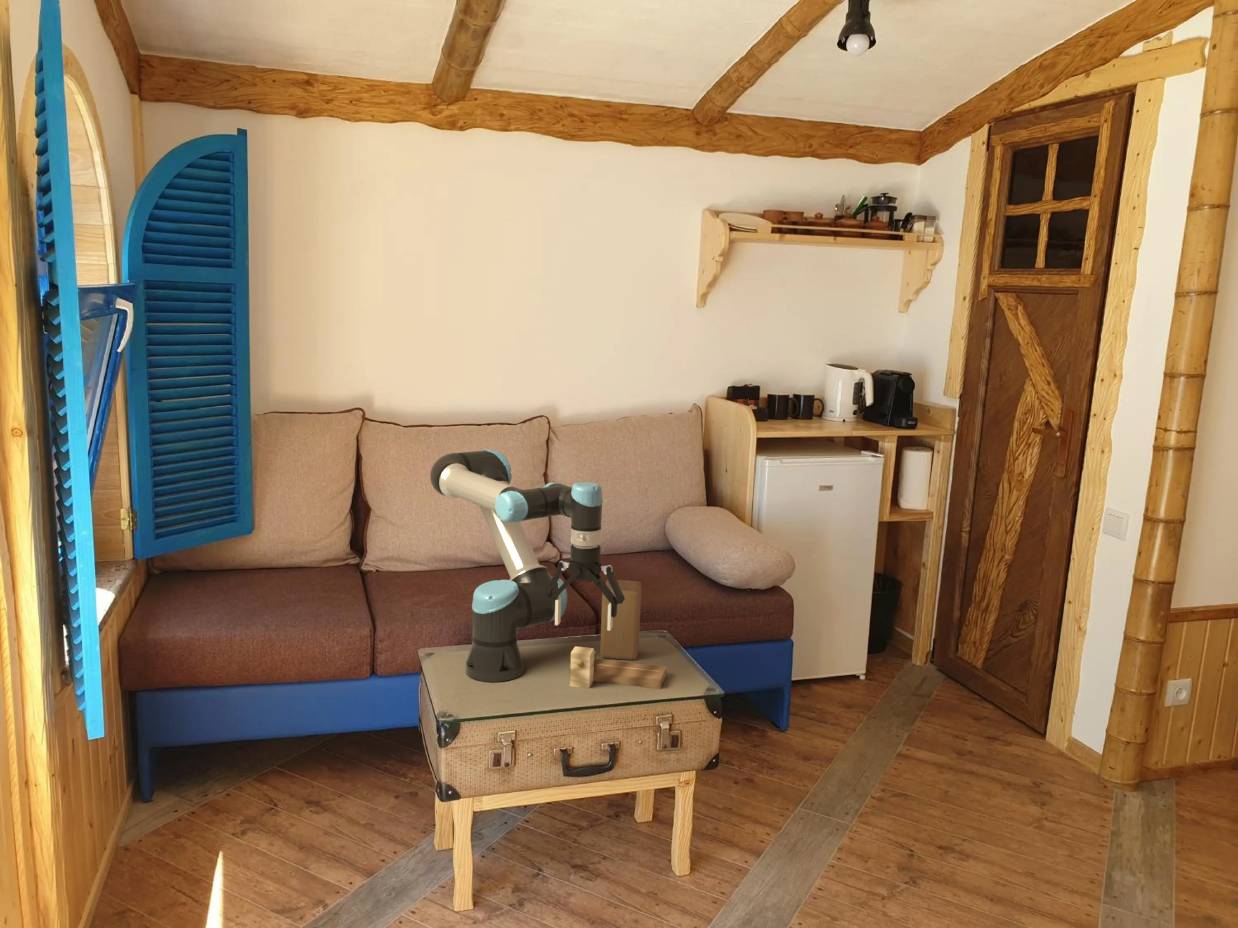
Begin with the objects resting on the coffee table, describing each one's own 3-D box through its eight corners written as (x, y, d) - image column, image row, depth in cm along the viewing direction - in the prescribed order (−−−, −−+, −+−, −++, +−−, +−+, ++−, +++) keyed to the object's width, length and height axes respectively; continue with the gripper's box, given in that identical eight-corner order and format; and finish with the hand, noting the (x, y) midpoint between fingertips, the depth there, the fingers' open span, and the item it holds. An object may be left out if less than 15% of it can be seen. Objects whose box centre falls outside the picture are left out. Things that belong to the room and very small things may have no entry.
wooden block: (639, 648, 278) (641, 580, 275) (636, 661, 268) (638, 591, 265) (603, 645, 279) (606, 578, 276) (599, 658, 269) (602, 588, 266)
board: (569, 678, 255) (569, 668, 255) (577, 665, 264) (578, 656, 264) (660, 688, 251) (660, 679, 250) (666, 675, 259) (666, 666, 259)
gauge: (569, 686, 250) (570, 652, 249) (582, 666, 263) (583, 634, 262) (588, 688, 249) (589, 655, 248) (600, 668, 262) (601, 636, 261)
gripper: (533, 544, 244) (532, 625, 248) (631, 552, 239) (629, 635, 243) (541, 537, 251) (540, 616, 255) (637, 545, 247) (634, 626, 250)
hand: (583, 626), depth 249 cm, fingers open, 13 cm apart
